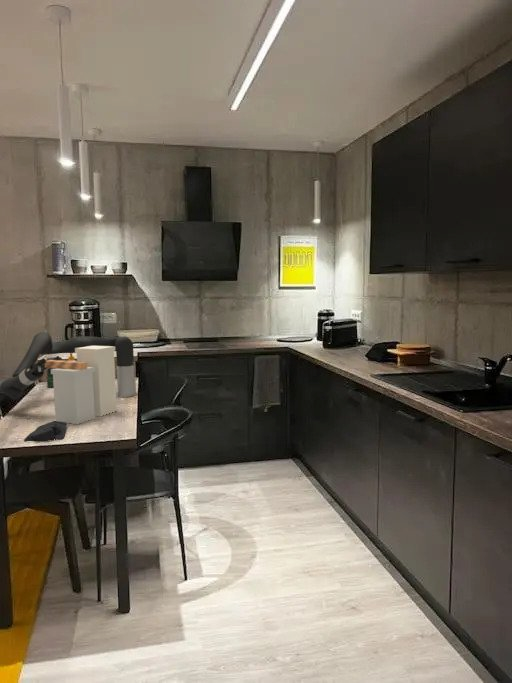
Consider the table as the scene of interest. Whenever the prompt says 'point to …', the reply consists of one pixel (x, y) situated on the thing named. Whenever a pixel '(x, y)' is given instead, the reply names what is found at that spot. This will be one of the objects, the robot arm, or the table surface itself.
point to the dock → (73, 395)
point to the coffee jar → (50, 375)
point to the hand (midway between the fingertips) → (52, 358)
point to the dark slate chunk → (48, 432)
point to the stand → (101, 376)
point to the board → (66, 364)
